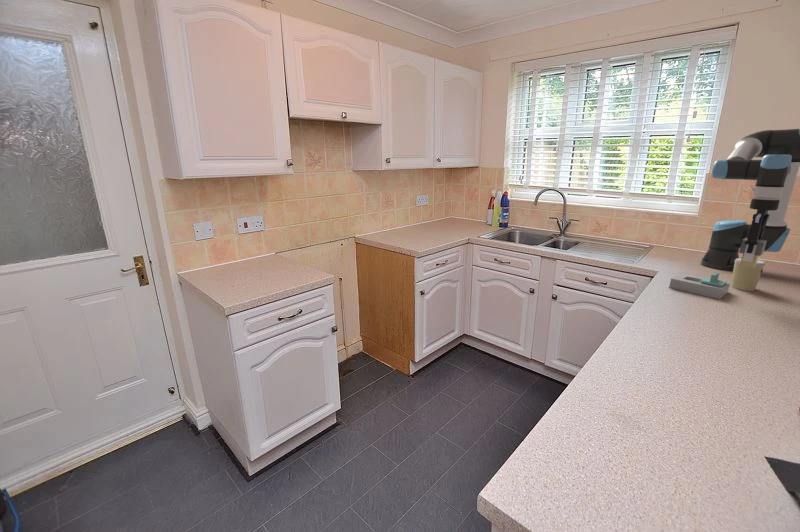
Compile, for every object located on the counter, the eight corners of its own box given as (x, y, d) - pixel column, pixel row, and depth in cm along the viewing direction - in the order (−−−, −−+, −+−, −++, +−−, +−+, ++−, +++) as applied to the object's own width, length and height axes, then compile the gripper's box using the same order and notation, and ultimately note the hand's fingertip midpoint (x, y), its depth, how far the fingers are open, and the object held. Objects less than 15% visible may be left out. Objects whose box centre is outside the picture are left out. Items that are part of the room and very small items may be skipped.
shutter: (705, 278, 156) (707, 270, 155) (726, 283, 151) (728, 274, 149) (699, 282, 152) (702, 273, 151) (721, 286, 146) (724, 277, 145)
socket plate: (678, 281, 165) (680, 273, 164) (727, 292, 153) (730, 283, 152) (669, 287, 158) (671, 278, 157) (719, 298, 146) (722, 289, 144)
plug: (739, 262, 147) (745, 237, 144) (759, 265, 142) (766, 240, 139) (735, 265, 143) (742, 240, 140) (756, 268, 139) (764, 242, 136)
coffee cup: (763, 292, 153) (771, 264, 149) (737, 290, 154) (744, 262, 151) (747, 284, 161) (755, 258, 158) (723, 283, 163) (730, 257, 160)
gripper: (757, 195, 144) (741, 253, 151) (746, 199, 132) (730, 262, 139) (784, 197, 138) (766, 257, 145) (775, 201, 127) (757, 266, 133)
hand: (749, 259), depth 142 cm, fingers closed on plug, 6 cm apart
